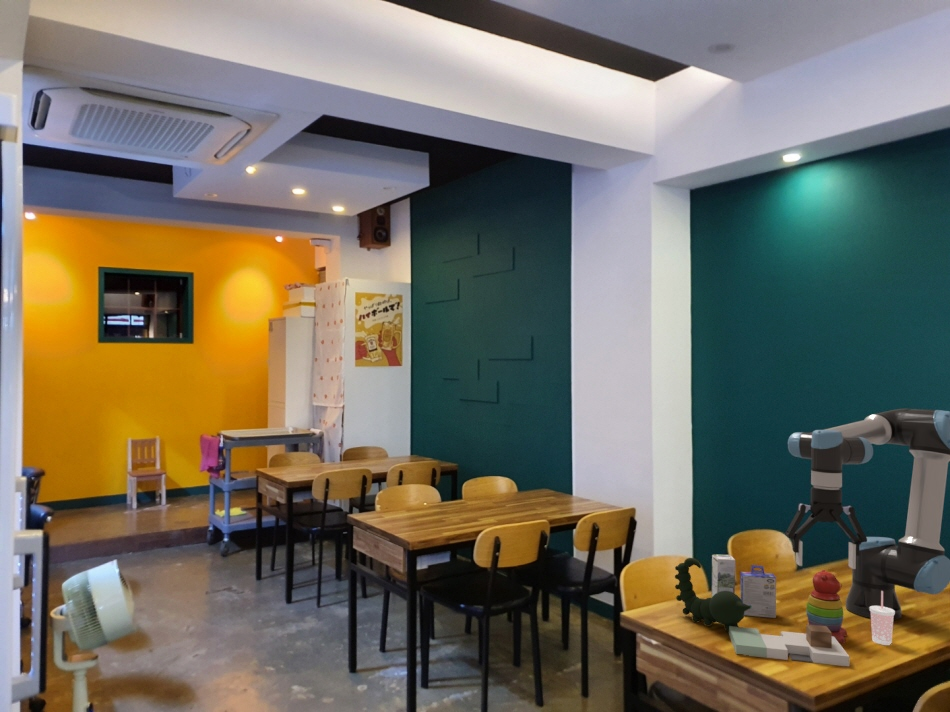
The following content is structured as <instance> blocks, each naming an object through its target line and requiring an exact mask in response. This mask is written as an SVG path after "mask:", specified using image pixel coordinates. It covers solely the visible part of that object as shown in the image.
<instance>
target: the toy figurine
mask: <svg viewBox="0 0 950 712" xmlns="http://www.w3.org/2000/svg"><path fill="white" fill-rule="evenodd" d="M693 566H696V567H697V568H698V569H701V568H702V566H701V563H700V562H699V560H697V558H694V557H688V558H686V559H685V560H684V561H683V562H681V563H679V564H678V565H676V566H674V569H675V571H677V574H675V575H674V578H675V580H678V581H679V582H678V584H675V586H674V588H675V590H679V591H680V592H679V594H678V595H677V596H675V597H676V601H677V602H683V603H684V606H685V607H684V608H682V614H683V615H685V616H687V615H690V613H691V615H692V621H693V622H694V623H699V622H700V621H703V622H702V623H703V624H704V625H706V626H707V627H710V626H712V625H713V623H718V624H720V625H723V628H724V630H725V631H726V633H728V634H729V626H734V627H739V625H738V624H739V623H740V622H742V620H743V619H744V618H745V615H744V612H745V611H746V610H748V609H750V606H748V605H746V604H744V603H743V602H742V600H741V597H740V596H739V595H737V594H736V593H733V592H730V591H720V592H718V593H716V594H715V595H714V596H713V597H706V598H702V597H699V596H698V595H696V594H697V593H696V591H695V590H694V585H693V582H692V581H691V579H692V576H691V573H690V572H689V571H690V568H691V567H693Z"/></svg>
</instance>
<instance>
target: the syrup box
mask: <svg viewBox="0 0 950 712" xmlns="http://www.w3.org/2000/svg"><path fill="white" fill-rule="evenodd" d="M711 557H712V558H711V597H710V598H712V597H713V596H714V595H715V594H716V593H718V592H720V591H730V592H733V593H735V592H736V586H735V585H736V559H735V558H734V557H733V556H732V555H730V554H712V555H711ZM735 594H736V593H735Z"/></svg>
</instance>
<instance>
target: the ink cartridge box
mask: <svg viewBox="0 0 950 712" xmlns="http://www.w3.org/2000/svg"><path fill="white" fill-rule="evenodd" d="M756 568H757V570H755V569H756ZM750 569H751V570H750V571H740V599H741V600H742V602H743V603H744V604H746V605H748V606H750V609H748V610H746V611H745V612H744V616H747V617H749V616H750V617H758V618H759V617H760V618H770V619H775V618H776V617H777V577H776V576H775V574H774V573H771V572H770V573H767V572H765V570H764V565H757V564H756V565H755V564H752V565H750ZM758 569H759V570H758Z"/></svg>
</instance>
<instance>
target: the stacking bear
mask: <svg viewBox="0 0 950 712" xmlns="http://www.w3.org/2000/svg"><path fill="white" fill-rule="evenodd" d="M842 584H843V583H841V581H840V580H838V579H837V577H836V576H835V574H833V573H832V572H830V571H829V572H828V571H826V569H822V570H821V571H818V572H816V573H815V574H814V575H813V577H812V586H813V588H814V590H812V591H811V592H810V594H809V595H808V598H807V602H806V610H805V611H806V617H807V623H808V624H809V625H819V626H827V627H828V629H829V630H830V631H831V633H832V636H834V637H835V638H836V640H837V641H838V642H839V644H840V645H841V644H844V643H846V638H845V637H846V636H848V632H847V629H845V628H844V627H842V624H843V620H844V609H843V604H842V601H841V597H840V595H839V594H838V593H839V592H840V591H841V589H842V588H843V585H842Z"/></svg>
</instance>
